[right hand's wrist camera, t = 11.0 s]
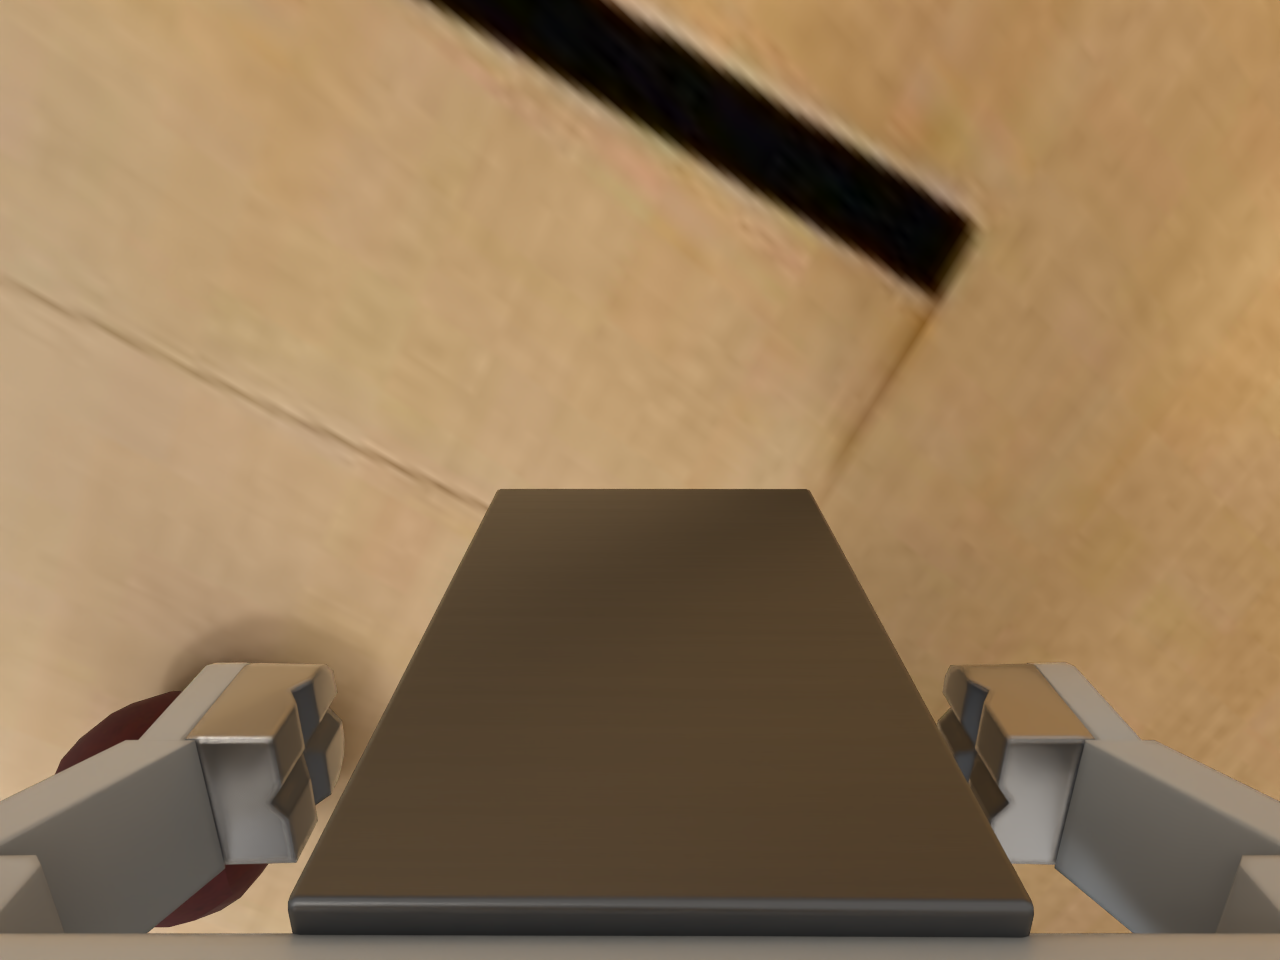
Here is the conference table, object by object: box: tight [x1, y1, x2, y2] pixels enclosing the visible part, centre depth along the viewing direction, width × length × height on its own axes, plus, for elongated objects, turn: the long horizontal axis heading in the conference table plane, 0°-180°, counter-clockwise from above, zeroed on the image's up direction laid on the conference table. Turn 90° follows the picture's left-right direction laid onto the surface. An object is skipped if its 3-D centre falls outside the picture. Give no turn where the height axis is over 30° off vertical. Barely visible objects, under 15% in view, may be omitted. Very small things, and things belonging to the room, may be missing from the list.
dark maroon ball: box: [55, 691, 269, 927], centre depth 27 cm, size 7×8×7 cm
